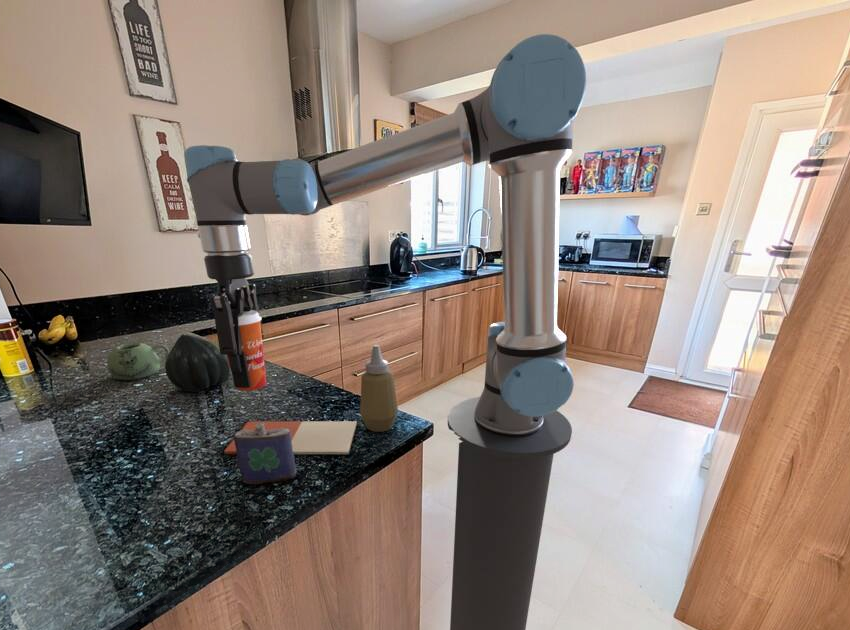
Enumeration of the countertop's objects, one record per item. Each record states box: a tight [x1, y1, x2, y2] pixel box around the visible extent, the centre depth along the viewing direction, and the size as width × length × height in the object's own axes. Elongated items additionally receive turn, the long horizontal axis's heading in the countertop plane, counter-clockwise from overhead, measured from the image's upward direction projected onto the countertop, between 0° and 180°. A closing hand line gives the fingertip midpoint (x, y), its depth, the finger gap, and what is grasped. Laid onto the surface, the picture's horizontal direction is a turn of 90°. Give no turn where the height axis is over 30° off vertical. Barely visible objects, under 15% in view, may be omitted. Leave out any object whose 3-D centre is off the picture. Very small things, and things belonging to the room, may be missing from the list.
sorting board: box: [223, 420, 358, 455], centre depth 80 cm, size 24×12×1 cm, turn 88°
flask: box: [233, 422, 297, 484], centre depth 66 cm, size 9×3×11 cm, turn 96°
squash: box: [164, 333, 231, 393], centre depth 104 cm, size 14×15×15 cm
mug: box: [106, 342, 170, 381], centre depth 114 cm, size 16×13×9 cm
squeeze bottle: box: [359, 344, 399, 433], centre depth 80 cm, size 8×8×18 cm
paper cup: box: [226, 310, 267, 392], centre depth 73 cm, size 8×8×14 cm
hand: (250, 379), depth 75 cm, fingers closed on paper cup, 6 cm apart
